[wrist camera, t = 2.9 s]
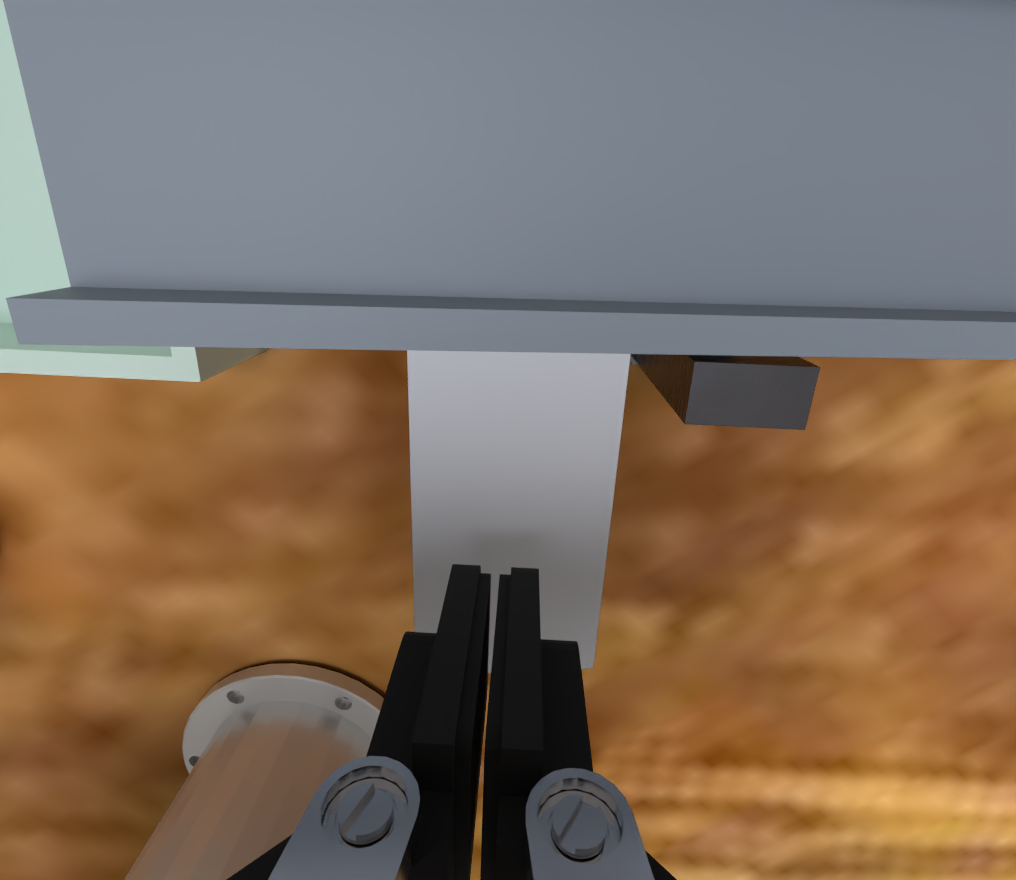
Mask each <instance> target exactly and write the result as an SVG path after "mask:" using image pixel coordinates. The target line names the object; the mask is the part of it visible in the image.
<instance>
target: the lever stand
mask: <svg viewBox="0 0 1016 880" xmlns="http://www.w3.org/2000/svg"><path fill="white" fill-rule="evenodd" d="M629 364H636V365H639V366H640V368H641V369H642V370H643V371H644V373H645V374H646V375H647V377H648V378H649V379H650V380H651V382H652V383H653V384H654V385H655V387H656V388H657V389H658V391H659V392H660V393H661V394H662V396H663V397H664V398H665V399H666V401H667V402H668V403H669V405H670V406H671V407H672V408H673V410H674V411H675V412H676V414H677V415H678V416H679V417H680V419H681V420H682V421H683V422H684V424H694V425H715V426H736V427H756V428H777V429H798V430H805V427H806V423H807V419H808V415H809V411H810V407H811V403H812V399H813V395H814V391H815V387H816V382H817V378H818V374H819V370H820V367H818V366H816V365H814V364H812V363H810V362H808V361H806V360H804V359H802V358H800V357H796V356H732V355H669V354H630V363H629Z"/></svg>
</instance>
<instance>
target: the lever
mask: <svg viewBox="0 0 1016 880" xmlns="http://www.w3.org/2000/svg"><path fill="white" fill-rule="evenodd" d="M3 2H4V7H5V11H6V15H7V19H8V24H9V28H10V32H11V36H12V41H13V45H14V49H15V53H16V57H17V62H18V66H19V70H20V74H21V79H22V83H23V87H24V91H25V96H26V100H27V104H28V108H29V112H30V117H31V121H32V125H33V129H34V134H35V138H36V142H37V146H38V151H39V155H40V159H41V163H42V167H43V172H44V176H45V180H46V184H47V189H48V193H49V197H50V201H51V205H52V210H53V214H54V218H55V222H56V227H57V231H58V235H59V239H60V244H61V248H62V252H63V256H64V260H65V265H66V269H67V273H68V277H69V282H70V286H71V287H67V288H61V289H56V290H50V291H44V292H38V293H33V294H27V295H21V296H15V297H9V298H6V301H7V304H8V308H9V311H10V315H11V319H12V322H13V326H14V329H15V333H16V337H17V340H18V344H32V345H96V346H159V347H223V348H287V349H350V350H407V360H408V397H409V434H410V472H411V509H412V546H413V583H414V621H415V632H422V633H437V629H438V624H439V620H440V616H441V611H442V607H443V603H444V598H445V594H446V590H447V585H448V581H449V576H450V572H451V568H452V565H453V564H463V565H480V566H481V573H489V574H491V594H490V625H489V655H488V673H491V668H492V657H493V645H494V634H495V622H496V611H497V599H498V588H499V577H500V574H507V575H511V567H518V568H537V569H539V593H540V633H541V639H546V640H563V641H577V643H578V647H579V654H580V663H581V669H587V668H593V665H594V657H595V648H596V640H597V632H598V623H599V615H600V606H601V598H602V590H603V581H604V573H605V564H606V556H607V548H608V539H609V531H610V522H611V514H612V506H613V497H614V489H615V480H616V472H617V464H618V455H619V447H620V438H621V430H622V422H623V413H624V405H625V396H626V388H627V380H628V371H629V363H630V354H669V355H732V356H796V357H860V358H924V359H987V360H1016V0H3Z"/></svg>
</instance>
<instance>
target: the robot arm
mask: <svg viewBox="0 0 1016 880" xmlns="http://www.w3.org/2000/svg"><path fill="white" fill-rule="evenodd" d="M490 594H491V574H489V573H481V566H480V565H463V564H453V565H452V568H451V572H450V576H449V581H448V585H447V590H446V594H445V598H444V603H443V607H442V611H441V616H440V620H439V624H438V629H437V633H422V632H406V633H405V634H404V636H403V639H402V642H401V645H400V648H399V651H398V655H397V658H396V661H395V664H394V668H393V671H392V674H391V677H390V681H389V684H388V687H387V690H386V694H385V697H384V698H383V697H382V696H380V695H379V694H378V693H376V692H375V691H373V690H372V689H370V688H369V687H367V686H365V685H364V684H362V683H361V682H359V681H357V680H354V679H352V678H350V677H348V676H345V675H343V674H341V673H338V672H335V671H331V670H328V669H324V668H320V667H317V666H309V665H302V664H294V663H289V664H267V665H261V666H256V667H251V668H247V669H244V670H242V671H239V672H237V673H234V674H231V675H229V676H228V677H226V678H224V679H223V680H221V681H220V682H218V683H217V684H215V685H214V686H213V687H212V688H211V689H210V690H209V691H208V692H207V693H206V694H205V695H204V696H203V697H202V698H201V700H200V702H199V703H198V705H197V706H196V708H195V709H194V710H193V712H192V713H191V715H190V716H189V718H188V721H187V724H186V726H185V729H184V731H183V741H182V752H183V759H184V763H185V765H186V768H187V770H188V773H189V775H188V777H187V779H186V780H185V782H184V784H183V785H182V787H181V788H180V790H179V792H178V793H177V795H176V796H175V798H174V800H173V801H172V803H171V804H170V806H169V808H168V809H167V811H166V813H165V814H164V816H163V817H162V819H161V821H160V822H159V824H158V825H157V827H156V829H155V830H154V832H153V834H152V835H151V837H150V838H149V840H148V842H147V843H146V845H145V846H144V848H143V850H142V851H141V853H140V855H139V856H138V858H137V859H136V861H135V863H134V864H133V866H132V867H131V869H130V871H129V872H128V874H127V876H126V877H125V879H124V880H470V874H471V863H472V852H473V841H474V831H475V820H476V809H477V798H478V787H479V776H480V765H481V754H482V743H483V732H484V722H485V711H486V700H487V684H488V655H489V625H490ZM481 880H676V879H675V878H674V877H673V876H672V875H671V874H670V873H669V872H668V871H667V870H666V869H665V868H664V867H662V866H661V865H660V864H659V863H658V862H657V861H656V860H655V859H654V858H653V857H652V856H651V855H650V854H649V853H647V852H646V851H645V849H644V846H643V843H642V840H641V837H640V834H639V830H638V827H637V824H636V821H635V818H634V815H633V812H632V810H631V808H630V806H629V804H628V802H627V800H626V798H625V797H624V795H623V794H622V793H621V792H620V791H619V790H618V788H617V787H616V786H615V785H614V784H613V783H611V782H610V781H608V780H607V779H605V778H604V777H603V776H601V775H600V774H597V773H594V772H593V767H592V758H591V750H590V741H589V732H588V724H587V715H586V706H585V697H584V689H583V680H582V671H581V663H580V654H579V647H578V643H577V641H563V640H546V639H541V633H540V593H539V569H537V568H518V567H511V575H507V574H500V577H499V588H498V599H497V611H496V622H495V634H494V645H493V657H492V668H491V680H490V691H489V703H488V714H487V726H486V739H485V757H484V786H483V818H482V849H481Z"/></svg>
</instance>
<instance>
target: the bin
mask: <svg viewBox="0 0 1016 880" xmlns="http://www.w3.org/2000/svg"><path fill="white" fill-rule="evenodd" d="M67 287H71V286H70V282H69V277H68V273H67V269H66V265H65V260H64V256H63V252H62V248H61V244H60V239H59V235H58V231H57V227H56V222H55V218H54V214H53V210H52V205H51V201H50V197H49V193H48V189H47V184H46V180H45V176H44V172H43V167H42V163H41V159H40V155H39V151H38V146H37V142H36V138H35V134H34V129H33V125H32V121H31V117H30V112H29V108H28V104H27V100H26V96H25V91H24V87H23V83H22V79H21V74H20V70H19V66H18V62H17V57H16V53H15V49H14V45H13V41H12V36H11V32H10V28H9V24H8V19H7V15H6V11H5V7H4V2H3V0H0V372H1V373H22V374H43V375H64V376H85V377H107V378H128V379H149V380H170V381H191V382H201V381H204V380H206V379H208V378H210V377H212V376H214V375H216V374H218V373H220V372H222V371H225V370H227V369H229V368H231V367H233V366H235V365H237V364H239V363H241V362H243V361H246V360H248V359H250V358H252V357H254V356H256V355H258V354H260V353H262V352H264V351H267V348H223V347H159V346H96V345H32V344H18V340H17V337H16V333H15V329H14V326H13V322H12V319H11V315H10V311H9V308H8V304H7V301H6V298H9V297H15V296H21V295H27V294H33V293H38V292H44V291H50V290H56V289H61V288H67Z"/></svg>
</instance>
